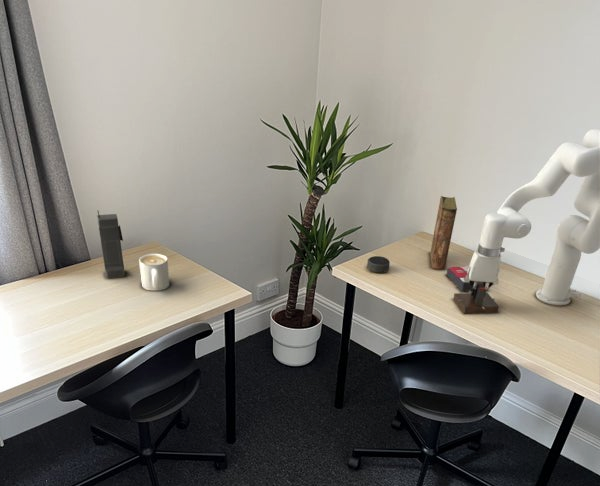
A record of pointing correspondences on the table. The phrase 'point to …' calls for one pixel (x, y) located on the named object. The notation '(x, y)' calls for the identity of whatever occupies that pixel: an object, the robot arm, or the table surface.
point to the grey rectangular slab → (480, 294)
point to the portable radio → (111, 245)
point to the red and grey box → (459, 277)
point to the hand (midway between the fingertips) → (477, 297)
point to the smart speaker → (378, 264)
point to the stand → (469, 306)
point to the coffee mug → (154, 272)
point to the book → (443, 232)
